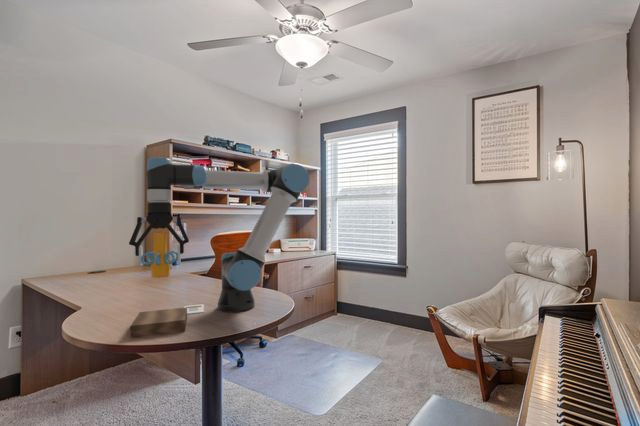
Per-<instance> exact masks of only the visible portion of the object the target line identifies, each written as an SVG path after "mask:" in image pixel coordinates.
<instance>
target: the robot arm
mask: <svg viewBox="0 0 640 426" xmlns="http://www.w3.org/2000/svg"><path fill="white" fill-rule="evenodd" d="M309 184H310V175H309V171H308V169H306V167H305V166H304V165H302V164H300V163H297V162H295V163H292V162H291V163H288V164H286V165H284V166H282V167H280V168H276V169H268V170H267V169H264V170H263V171H261V172H260V171H237V170H234V171H233V170H214V169H213V170H210V169H208V170H207V168H206V166H204V165H199V164H195V165H194V164H174V163H172V162H171V159H170V158H167V157H162V156H161V157H160V156H151V157H150V158H148V159H147V161H146V187H147V190H146V195H147V196H146V197H147V200H146V201H147V215H146V217H145V216H144V217H143V216H138V217H137V218H136V225H135V228H134V231H133V233H132V234H131V237H130V240H129V242H128V244H129V246H133V247H135V248H134V252H135V257H138V267H142V266H143V265H144V264H143V263H142V262H141V256H142V255H143V254H144V248H143V245H141V244H143V242H144V241H145V239H146V238H147V237H148V235H149V234H150V233H151V231H152V230H153V229H165V230H166V229H167V230H168V231H169V232H170V234H171V235H172V236H173V237H174V239H175V240H176V241H177V242H178V244H177V246H176V247H177V253H178V260H177V264H178V265H180V264H181V258H182V257H181V255H183V254H184V253H185V250H184V249H185V247H184V246H185V244H187V243H188V244H189V241H190V239H189V237H188V234H187V233H186V232H187V231H185V228H184V225H183V223H182V217H181V216H173V215H172V203H171V201H172V186H180V187H181V189H182V188H183V189H184V190H192V189H207V190H209V189H210V190H213V189H214V190H217V189H218V190H258V191H259V190H260V191H261V190H262V191H263V192H264V193H271V195H270V197H269V199H268V201H267V203H266V205H265V206H264V208H263V210H262V212H261V214H260V216H259V217H258V220H257V221H256V223H255V224H254V227H253V229H252V231H251V232H250V234H249V237H248V238H247V240H246V242H245V244H244V246H243V247H240V248H238V249H237V250H236V251H235V252H227V253H226V252H225V253H222V255H221V259H220V262H221V292H220V295H219V298H218V302H217V310H219V311H220V312H224V313H225V312H226V313H230V312H231V313H235V312H236V313H238V312H244V311H245V312H246V311H248V310H251V309H253V308H254V307H255V306H256V305H255V304H256V303H255V302H256V301H255V297H254V295H253V292H252V289H254V288H255V287H256V286H257V285H258V284H259V282H260V281H261V278H262V269H263V267H264V265H265V263H266V260H265V255H266V253H267V251H268V249H269V248H270V245H271V243H272V241H273V239H274V237H275V236H276V234H277V231H278V229H279V227H280V225H282V224H281V223H282V222H283V219H284V218H285V216H286V214H287V212H288V210H289V208H290V206H291V205H292V204H293V203H295V202H296V203H297V201H298V199H299V197H300V195H301V193H302V192H303V191H305V190H306V189H307V188H308V186H309ZM172 221H174V222H175V223H176V225H177V227H178V229H179V231H180V233H181V235H182V237H183V239H182V238H181V237H180V235H179V234H178V233H177V232H176V230H175V229H174V228H173V226H172V225H171V223H172ZM146 222H147V223H148V224H149V225H148V227H146V229H145V230H144V231H143V233H142V235H141V236H140V237H139V238H138V235H139V233H140V231H141V228H142V226H143V224H144V223H146ZM137 239H138V240H137Z"/></svg>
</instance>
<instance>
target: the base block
mask: <svg viewBox="0 0 640 426" xmlns="http://www.w3.org/2000/svg"><path fill="white" fill-rule="evenodd" d="M187 320H188V314H187V307H186V308H184V307H178V308H169V309H158V310H147V311H139V312H138V314H137V315H136V317H135V319H134V320H133V322H132V323H131V324H130V339H137V338H147V337H151V336H152V337H153V336H154V337H155V336H162V335H170V334H179V333H185V332H186V327H187V326H186V325H187Z"/></svg>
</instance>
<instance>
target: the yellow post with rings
mask: <svg viewBox="0 0 640 426" xmlns="http://www.w3.org/2000/svg"><path fill="white" fill-rule="evenodd" d="M167 246H168V245H167V233H165V232H164V233H161V232H160V233H159V232H158V233H153V251H149V252H145V253H143V255H142V256H141V262H142V263H143V265H145V266H150V276H151V278H154V279H158V278H167V277H169V276H170V275H171V265H172V264H173V263H176V262H178V251H176V250H170V251H167ZM145 256H146V260H147V262H145V261H144V258H145ZM169 256H171V259H170V257H169ZM150 257H151V260H150ZM175 257H176V258H175Z"/></svg>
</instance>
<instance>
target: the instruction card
mask: <svg viewBox="0 0 640 426" xmlns="http://www.w3.org/2000/svg"><path fill="white" fill-rule="evenodd" d="M186 307H187V315H193V314H203V313H205V304H204V303H201V304H193V305H184V306H183V308H186Z"/></svg>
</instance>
